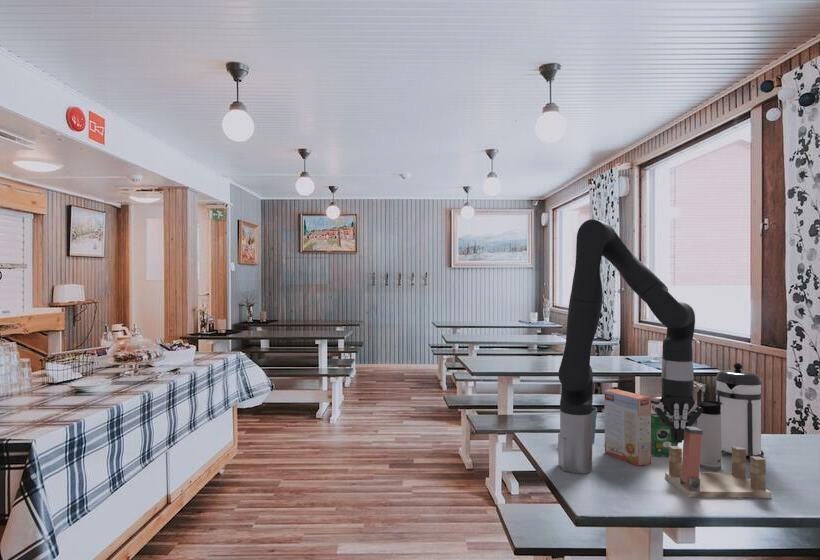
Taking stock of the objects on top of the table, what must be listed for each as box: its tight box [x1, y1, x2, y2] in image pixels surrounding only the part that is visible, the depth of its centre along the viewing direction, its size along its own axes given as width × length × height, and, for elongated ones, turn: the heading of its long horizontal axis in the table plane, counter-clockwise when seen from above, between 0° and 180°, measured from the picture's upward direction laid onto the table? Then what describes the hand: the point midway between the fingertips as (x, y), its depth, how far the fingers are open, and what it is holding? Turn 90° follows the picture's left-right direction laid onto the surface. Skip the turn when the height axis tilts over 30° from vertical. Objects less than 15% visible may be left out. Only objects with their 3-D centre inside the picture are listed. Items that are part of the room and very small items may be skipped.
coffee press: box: [714, 362, 765, 463], centre depth 160 cm, size 17×16×30 cm
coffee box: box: [651, 413, 679, 457], centre depth 159 cm, size 8×3×13 cm, turn 91°
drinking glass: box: [592, 405, 598, 444], centre depth 174 cm, size 10×10×12 cm
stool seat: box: [664, 446, 772, 499], centre depth 134 cm, size 21×14×10 cm, turn 88°
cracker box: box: [604, 388, 652, 467], centre depth 157 cm, size 14×6×21 cm, turn 22°
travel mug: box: [696, 400, 723, 472], centre depth 149 cm, size 6×7×20 cm
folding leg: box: [681, 426, 702, 485], centre depth 131 cm, size 3×3×14 cm
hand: (677, 441), depth 131 cm, fingers closed
